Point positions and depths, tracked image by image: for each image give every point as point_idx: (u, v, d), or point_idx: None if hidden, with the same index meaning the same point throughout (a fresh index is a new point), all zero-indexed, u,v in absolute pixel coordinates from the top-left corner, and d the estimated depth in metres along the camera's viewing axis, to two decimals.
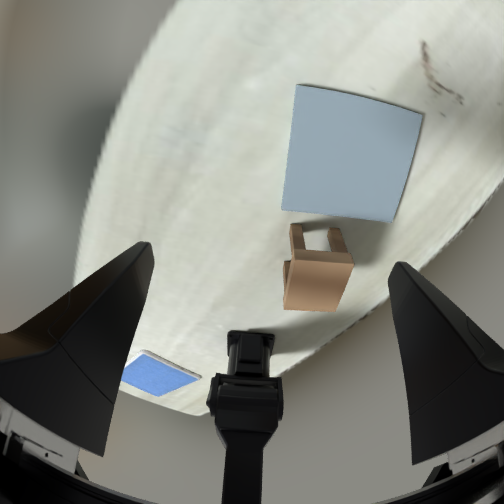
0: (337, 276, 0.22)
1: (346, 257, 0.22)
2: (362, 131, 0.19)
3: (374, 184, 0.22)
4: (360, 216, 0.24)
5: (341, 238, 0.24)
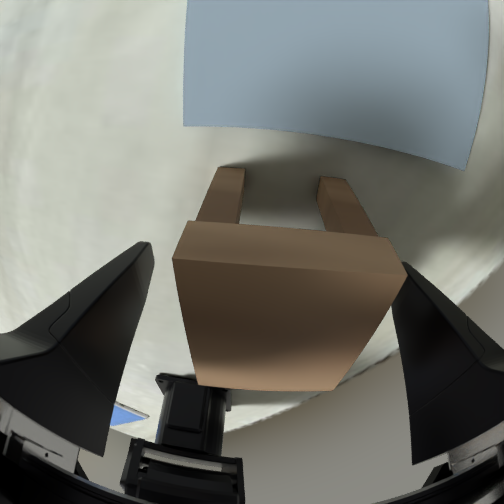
0: (345, 317, 0.06)
1: (377, 251, 0.06)
2: None
3: (425, 62, 0.06)
4: (399, 144, 0.08)
5: (353, 199, 0.08)
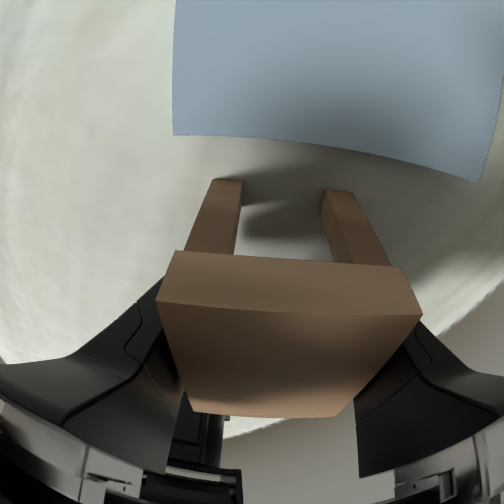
0: (351, 356, 0.05)
1: (390, 285, 0.05)
2: None
3: (442, 65, 0.05)
4: (411, 156, 0.07)
5: (362, 217, 0.08)
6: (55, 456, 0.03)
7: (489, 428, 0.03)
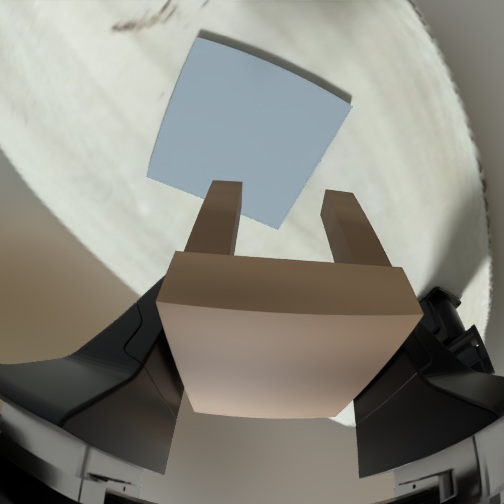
0: (351, 356, 0.05)
1: (391, 285, 0.05)
2: (205, 120, 0.16)
3: (282, 118, 0.16)
4: (324, 147, 0.17)
5: (362, 217, 0.08)
6: (55, 456, 0.03)
7: (489, 428, 0.03)
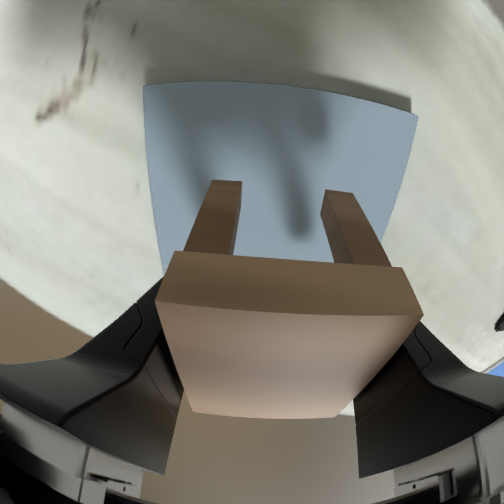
0: (351, 357, 0.05)
1: (391, 285, 0.05)
2: None
3: (325, 167, 0.10)
4: (394, 189, 0.11)
5: (362, 217, 0.08)
6: (55, 456, 0.03)
7: (489, 428, 0.03)
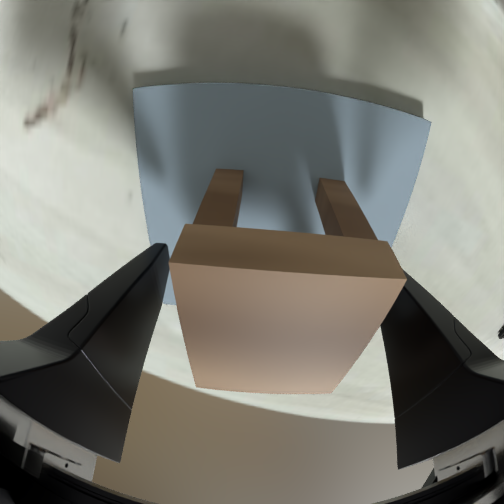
0: (343, 321, 0.06)
1: (376, 254, 0.06)
2: None
3: (331, 177, 0.10)
4: (404, 200, 0.10)
5: (353, 201, 0.08)
6: (4, 425, 0.03)
7: None
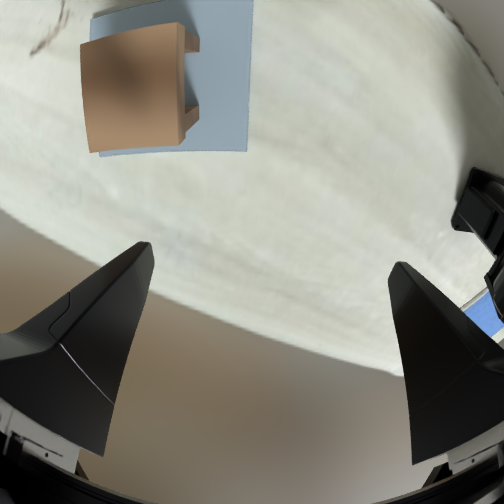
0: (152, 54, 0.09)
1: None
2: None
3: None
4: (247, 42, 0.13)
5: None
6: None
7: None
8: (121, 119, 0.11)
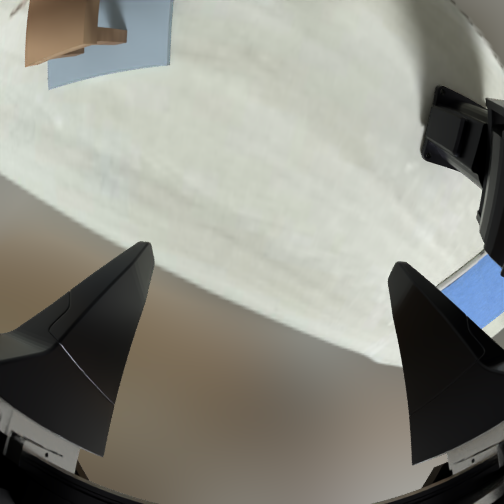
0: None
1: None
2: None
3: None
4: None
5: None
6: None
7: None
8: (48, 34, 0.08)
